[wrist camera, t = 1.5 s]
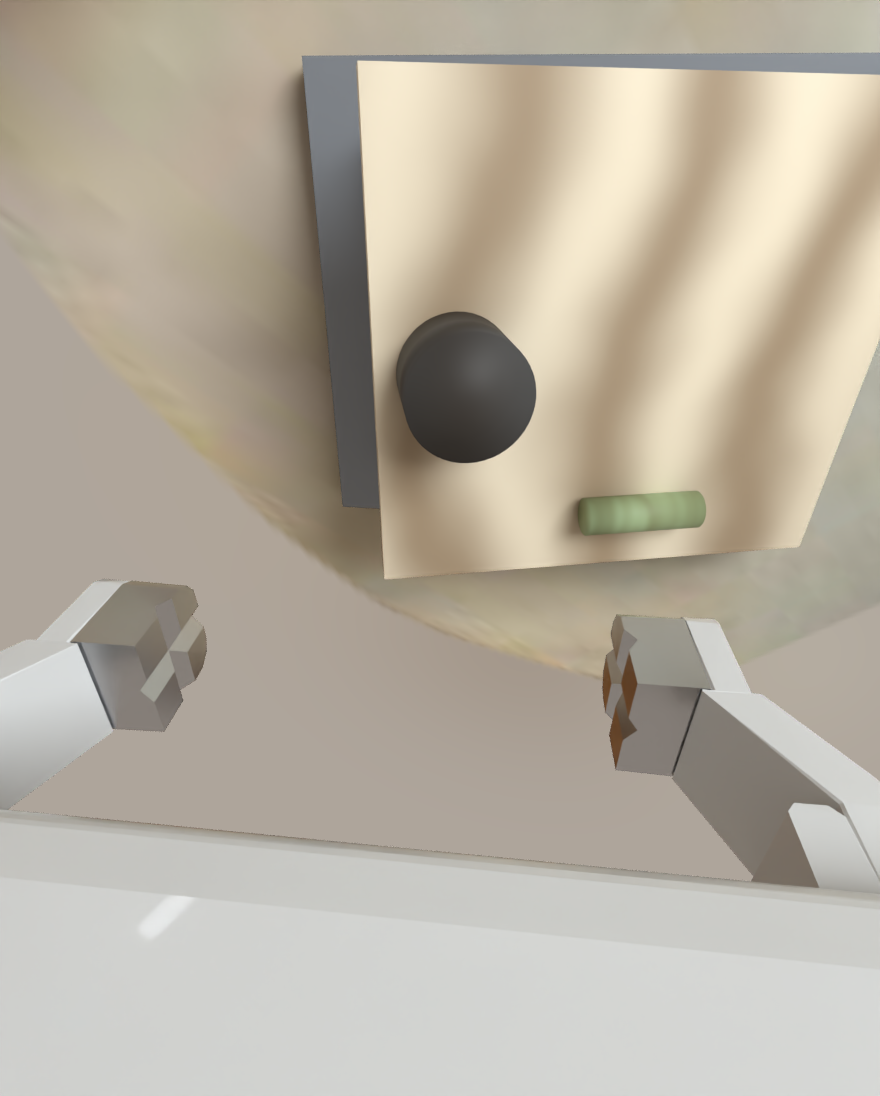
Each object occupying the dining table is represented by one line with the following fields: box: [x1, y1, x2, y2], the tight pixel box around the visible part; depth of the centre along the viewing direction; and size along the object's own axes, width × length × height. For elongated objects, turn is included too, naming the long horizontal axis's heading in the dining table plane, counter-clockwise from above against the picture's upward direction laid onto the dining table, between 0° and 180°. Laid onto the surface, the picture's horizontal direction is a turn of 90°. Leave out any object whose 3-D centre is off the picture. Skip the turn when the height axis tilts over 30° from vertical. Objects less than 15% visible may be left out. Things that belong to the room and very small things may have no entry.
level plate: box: [356, 61, 880, 579], centre depth 23 cm, size 20×18×4 cm
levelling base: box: [302, 53, 880, 509], centre depth 28 cm, size 24×20×4 cm
